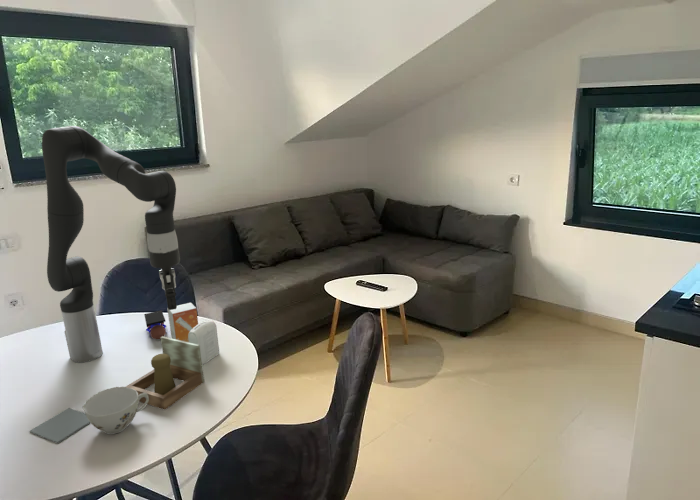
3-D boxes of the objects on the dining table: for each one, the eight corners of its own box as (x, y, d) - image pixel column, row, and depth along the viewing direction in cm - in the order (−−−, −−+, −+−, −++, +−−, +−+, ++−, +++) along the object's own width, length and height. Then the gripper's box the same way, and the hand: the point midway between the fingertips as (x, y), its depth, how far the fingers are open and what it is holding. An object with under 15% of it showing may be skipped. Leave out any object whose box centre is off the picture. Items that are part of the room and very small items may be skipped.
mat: (29, 432, 131) (29, 430, 130) (69, 408, 140) (69, 407, 140) (57, 443, 126) (57, 442, 126) (96, 418, 135) (96, 417, 135)
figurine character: (145, 331, 189) (149, 343, 176) (141, 311, 188) (145, 321, 174) (164, 327, 192) (170, 338, 179) (161, 307, 191) (166, 317, 177)
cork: (149, 394, 146) (143, 359, 142) (164, 383, 151) (159, 349, 148) (166, 398, 143) (161, 362, 140) (181, 386, 149) (176, 352, 145)
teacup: (94, 450, 123) (88, 421, 121) (84, 424, 133) (79, 397, 130) (158, 425, 131) (153, 398, 129) (145, 403, 141) (140, 377, 139)
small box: (177, 350, 171) (171, 313, 167) (171, 343, 176) (166, 307, 172) (201, 343, 175) (196, 307, 171) (195, 336, 180) (190, 301, 176)
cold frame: (127, 397, 144) (120, 359, 141) (168, 372, 157) (162, 336, 154) (165, 410, 138) (158, 370, 134) (204, 382, 151) (199, 344, 147)
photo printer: (211, 350, 169) (206, 316, 166) (221, 353, 168) (217, 318, 164) (189, 365, 161) (184, 329, 157) (200, 368, 159) (195, 331, 155)
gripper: (147, 242, 143) (155, 296, 148) (149, 256, 130) (158, 315, 135) (176, 239, 145) (183, 292, 150) (180, 252, 133) (188, 310, 138)
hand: (171, 303), depth 143 cm, fingers open, 8 cm apart
